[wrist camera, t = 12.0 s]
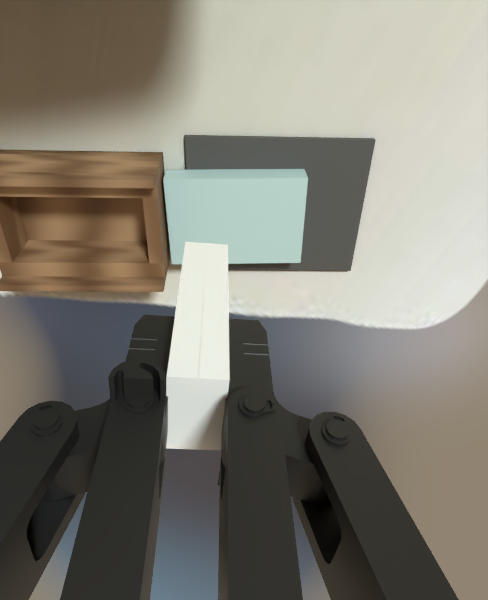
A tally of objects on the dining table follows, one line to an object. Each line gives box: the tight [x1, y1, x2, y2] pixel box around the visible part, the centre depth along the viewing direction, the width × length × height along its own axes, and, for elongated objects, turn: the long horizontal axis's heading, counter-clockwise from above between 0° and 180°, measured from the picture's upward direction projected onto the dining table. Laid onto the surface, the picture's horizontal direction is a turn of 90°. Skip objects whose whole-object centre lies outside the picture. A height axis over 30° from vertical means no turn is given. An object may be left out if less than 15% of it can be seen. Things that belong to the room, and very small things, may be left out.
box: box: [0, 150, 170, 292], centre depth 40 cm, size 14×10×6 cm
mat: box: [185, 135, 375, 271], centre depth 43 cm, size 16×13×1 cm
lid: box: [163, 169, 308, 264], centre depth 42 cm, size 12×8×2 cm
